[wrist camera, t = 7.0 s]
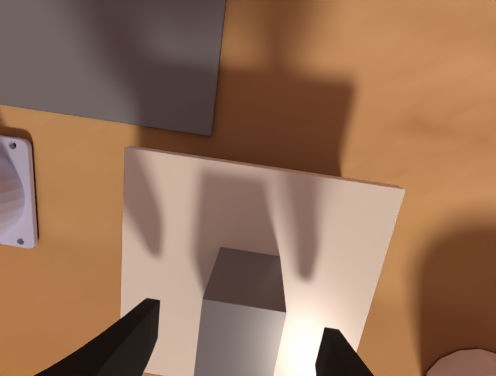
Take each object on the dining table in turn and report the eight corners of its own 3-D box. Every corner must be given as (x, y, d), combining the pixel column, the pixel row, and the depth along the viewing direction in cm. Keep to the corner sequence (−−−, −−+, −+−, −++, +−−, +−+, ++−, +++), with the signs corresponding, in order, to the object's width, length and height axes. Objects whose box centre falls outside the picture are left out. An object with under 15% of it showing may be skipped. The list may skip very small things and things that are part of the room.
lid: (126, 356, 16) (71, 450, 12) (132, 145, 13) (60, 159, 8) (336, 391, 16) (365, 502, 11) (397, 185, 13) (473, 222, 8)
